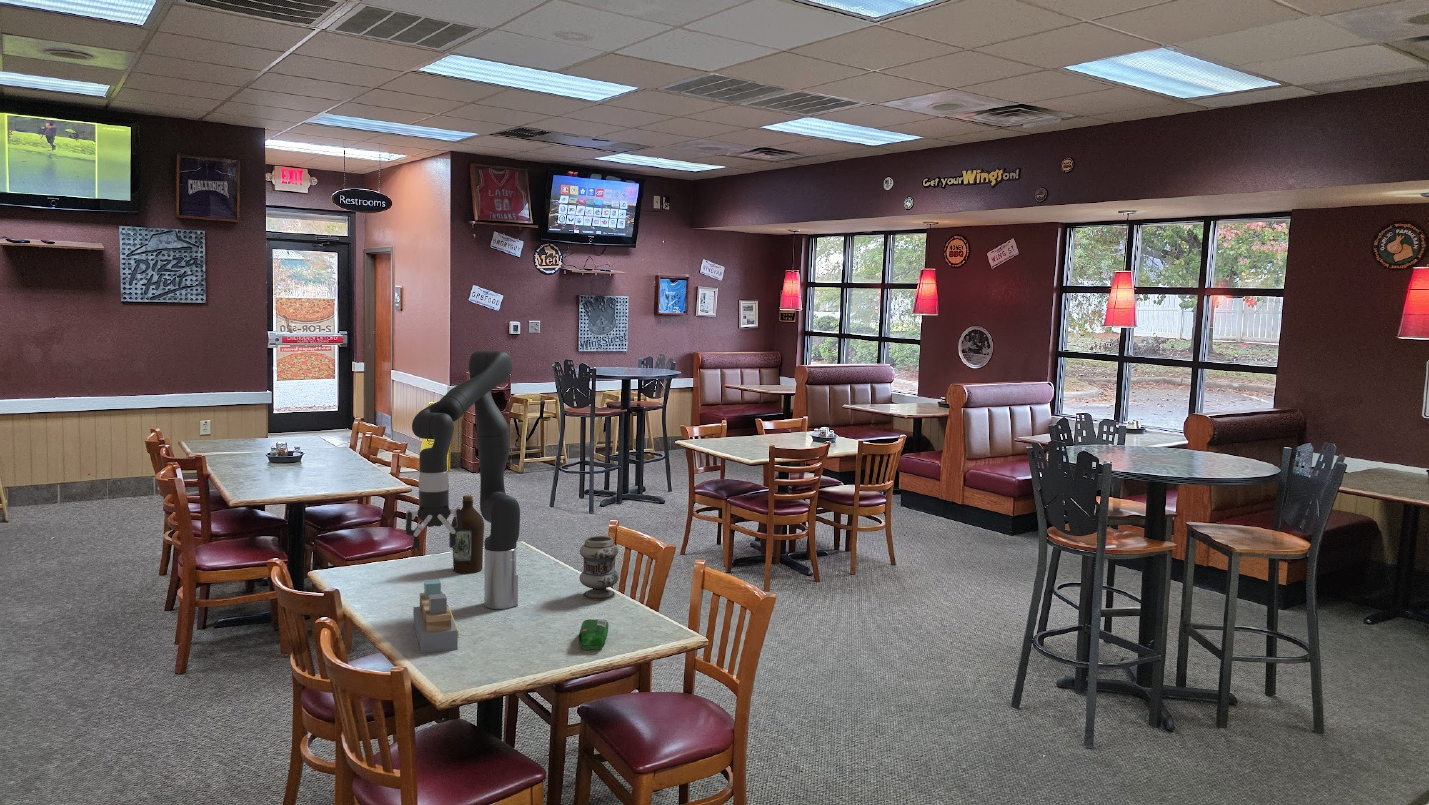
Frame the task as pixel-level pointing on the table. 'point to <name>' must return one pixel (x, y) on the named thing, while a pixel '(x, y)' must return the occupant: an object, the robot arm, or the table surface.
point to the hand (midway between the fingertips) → (434, 548)
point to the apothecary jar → (599, 567)
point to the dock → (434, 635)
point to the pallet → (434, 617)
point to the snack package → (593, 633)
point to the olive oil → (468, 540)
